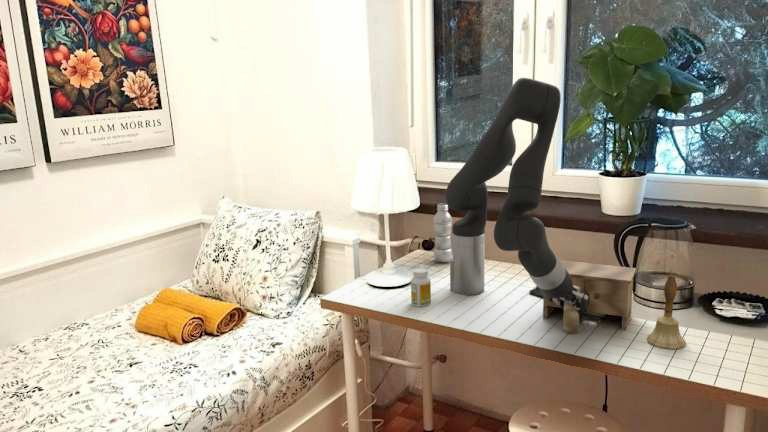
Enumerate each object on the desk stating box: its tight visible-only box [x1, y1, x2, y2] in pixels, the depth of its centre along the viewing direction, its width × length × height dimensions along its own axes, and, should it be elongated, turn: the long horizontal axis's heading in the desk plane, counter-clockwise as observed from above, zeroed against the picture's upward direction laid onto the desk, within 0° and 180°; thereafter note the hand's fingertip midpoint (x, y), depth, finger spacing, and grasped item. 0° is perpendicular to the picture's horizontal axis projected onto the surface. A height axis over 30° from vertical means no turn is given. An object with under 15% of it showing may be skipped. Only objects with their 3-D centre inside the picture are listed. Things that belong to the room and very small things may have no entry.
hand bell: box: [646, 274, 687, 350], centre depth 138 cm, size 8×8×16 cm
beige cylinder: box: [562, 285, 606, 335], centre depth 151 cm, size 10×15×11 cm, turn 152°
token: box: [581, 315, 601, 327], centre depth 152 cm, size 4×4×1 cm
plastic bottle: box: [433, 202, 453, 263], centre depth 205 cm, size 6×7×20 cm
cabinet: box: [542, 259, 637, 331], centre depth 154 cm, size 21×12×13 cm, turn 62°
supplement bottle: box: [410, 268, 432, 308], centre depth 168 cm, size 5×5×10 cm
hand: (575, 310), depth 148 cm, fingers closed on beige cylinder, 3 cm apart
